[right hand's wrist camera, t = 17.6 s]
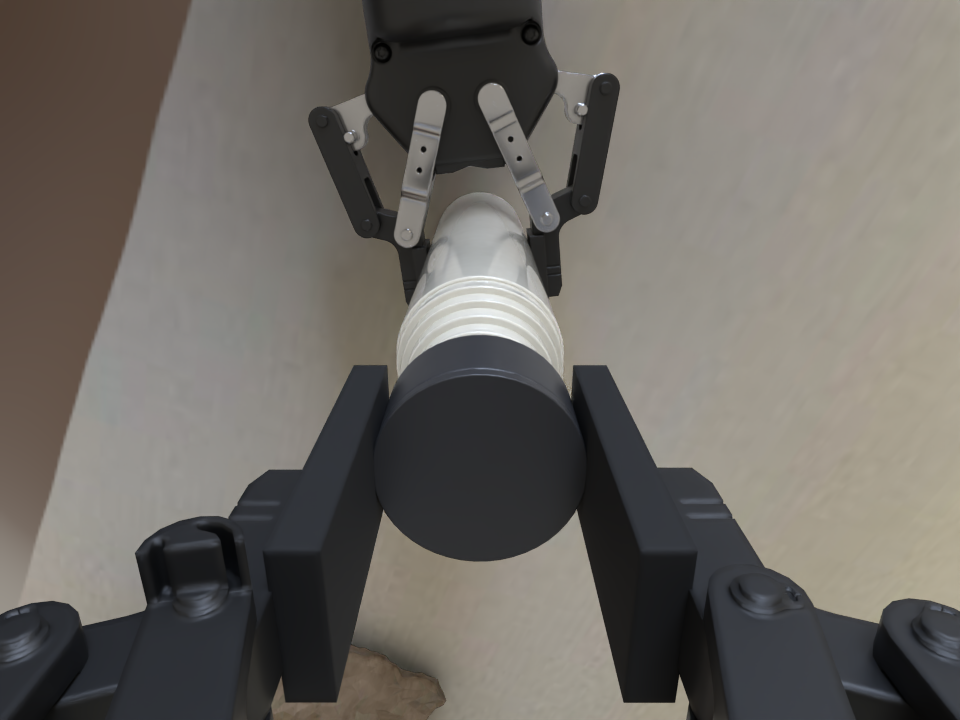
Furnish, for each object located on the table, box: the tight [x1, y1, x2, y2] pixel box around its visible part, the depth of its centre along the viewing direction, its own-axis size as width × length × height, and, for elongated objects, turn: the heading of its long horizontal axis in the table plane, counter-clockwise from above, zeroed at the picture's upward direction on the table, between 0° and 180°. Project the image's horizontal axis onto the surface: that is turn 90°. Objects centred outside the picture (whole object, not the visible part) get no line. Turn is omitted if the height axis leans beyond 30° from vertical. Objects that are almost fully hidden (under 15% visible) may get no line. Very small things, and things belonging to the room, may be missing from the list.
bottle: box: [396, 192, 564, 378], centre depth 25 cm, size 5×5×25 cm
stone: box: [271, 645, 446, 720], centre depth 46 cm, size 21×15×6 cm
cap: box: [373, 335, 587, 561], centre depth 14 cm, size 4×4×2 cm
